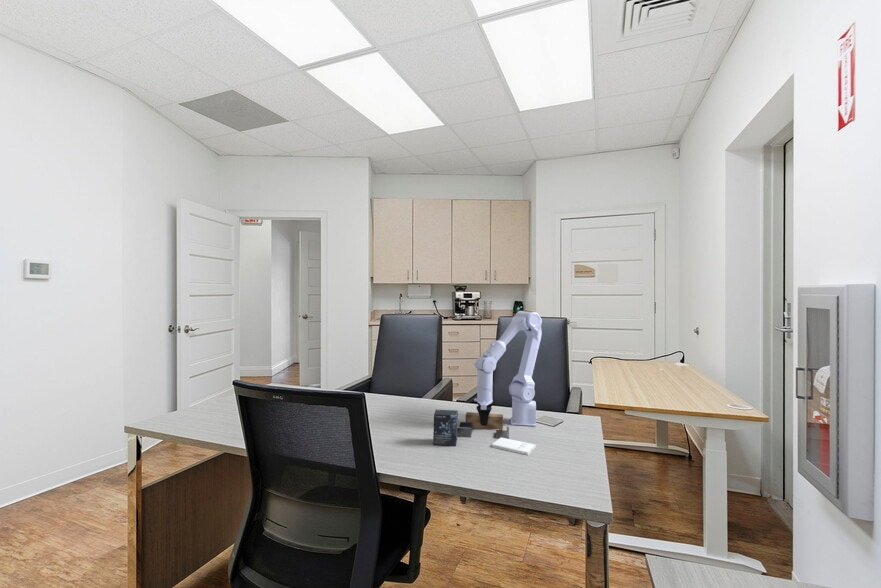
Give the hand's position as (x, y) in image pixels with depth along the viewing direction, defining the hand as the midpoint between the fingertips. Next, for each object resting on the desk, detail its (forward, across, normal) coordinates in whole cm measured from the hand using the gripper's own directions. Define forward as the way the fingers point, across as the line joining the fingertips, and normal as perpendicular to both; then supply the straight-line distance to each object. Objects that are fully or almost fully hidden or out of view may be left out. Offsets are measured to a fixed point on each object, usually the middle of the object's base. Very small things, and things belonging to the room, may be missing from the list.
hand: (484, 423), depth 157 cm
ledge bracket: (+1, +8, +7) cm, 11 cm away
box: (+2, +19, -12) cm, 23 cm away
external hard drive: (+2, +18, +11) cm, 21 cm away
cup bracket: (+1, +8, -6) cm, 10 cm away
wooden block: (+2, 0, 0) cm, 2 cm away
